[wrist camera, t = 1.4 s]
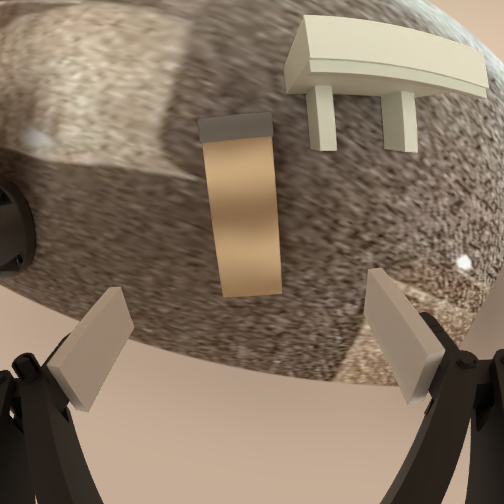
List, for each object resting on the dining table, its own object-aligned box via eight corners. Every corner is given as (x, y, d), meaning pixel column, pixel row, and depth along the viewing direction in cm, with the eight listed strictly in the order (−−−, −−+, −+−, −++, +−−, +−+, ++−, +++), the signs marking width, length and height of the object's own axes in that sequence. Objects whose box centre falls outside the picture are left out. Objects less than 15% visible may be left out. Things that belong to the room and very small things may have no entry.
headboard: (291, 150, 28) (319, 158, 15) (283, 68, 25) (303, 15, 12) (410, 149, 27) (493, 165, 14) (404, 75, 24) (482, 52, 11)
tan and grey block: (278, 262, 33) (283, 294, 26) (228, 266, 33) (221, 298, 27) (268, 118, 27) (271, 111, 20) (211, 124, 27) (197, 119, 21)
